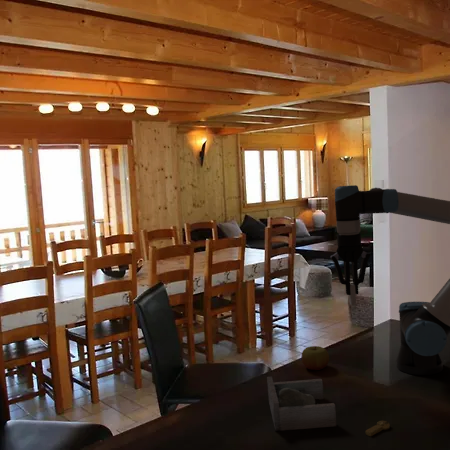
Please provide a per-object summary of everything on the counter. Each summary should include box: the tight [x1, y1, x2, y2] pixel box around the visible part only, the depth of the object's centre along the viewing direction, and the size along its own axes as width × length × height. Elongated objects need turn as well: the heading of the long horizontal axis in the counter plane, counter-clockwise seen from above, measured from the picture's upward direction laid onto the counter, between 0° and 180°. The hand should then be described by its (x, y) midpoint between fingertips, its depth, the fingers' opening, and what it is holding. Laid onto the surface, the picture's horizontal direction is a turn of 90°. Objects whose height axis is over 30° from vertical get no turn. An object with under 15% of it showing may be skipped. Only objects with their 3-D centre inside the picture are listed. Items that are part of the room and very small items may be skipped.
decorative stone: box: [279, 388, 316, 407], centre depth 150 cm, size 13×11×10 cm
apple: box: [301, 345, 330, 371], centre depth 185 cm, size 10×10×8 cm
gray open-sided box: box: [266, 376, 337, 432], centre depth 151 cm, size 17×19×8 cm
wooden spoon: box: [365, 420, 390, 437], centre depth 138 cm, size 8×3×1 cm, turn 126°
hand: (352, 304), depth 168 cm, fingers closed
